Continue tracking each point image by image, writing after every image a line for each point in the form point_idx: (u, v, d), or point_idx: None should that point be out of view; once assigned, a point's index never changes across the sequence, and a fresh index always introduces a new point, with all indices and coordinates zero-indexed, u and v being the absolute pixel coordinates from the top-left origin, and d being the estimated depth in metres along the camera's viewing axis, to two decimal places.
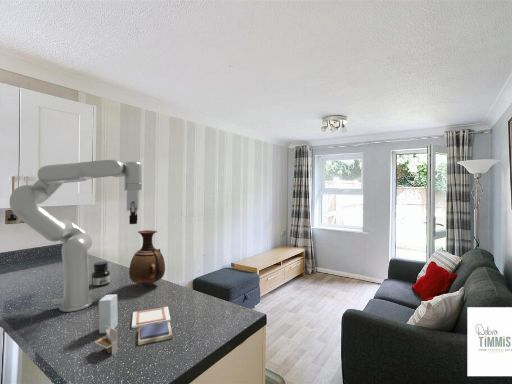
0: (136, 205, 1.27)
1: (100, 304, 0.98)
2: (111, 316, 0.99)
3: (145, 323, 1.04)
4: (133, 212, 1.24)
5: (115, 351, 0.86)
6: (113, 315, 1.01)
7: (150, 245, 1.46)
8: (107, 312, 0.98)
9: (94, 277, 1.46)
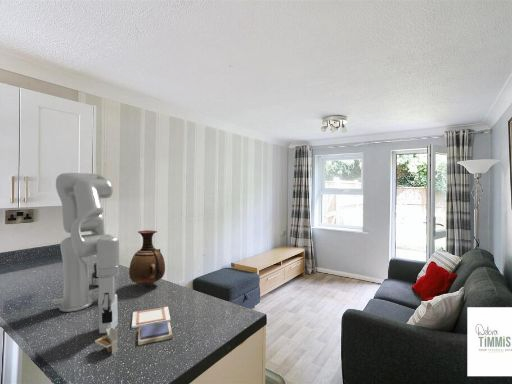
0: (111, 299, 0.97)
1: None
2: None
3: (145, 323, 1.04)
4: (106, 309, 0.96)
5: (115, 350, 0.87)
6: (113, 315, 1.01)
7: (150, 245, 1.46)
8: None
9: (94, 277, 1.46)
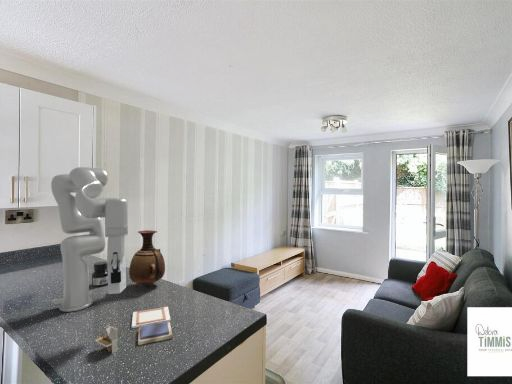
0: (119, 258, 0.96)
1: (109, 264, 0.97)
2: None
3: (145, 323, 1.04)
4: (115, 269, 0.95)
5: (115, 350, 0.87)
6: (122, 276, 1.00)
7: (150, 245, 1.46)
8: None
9: (94, 277, 1.46)
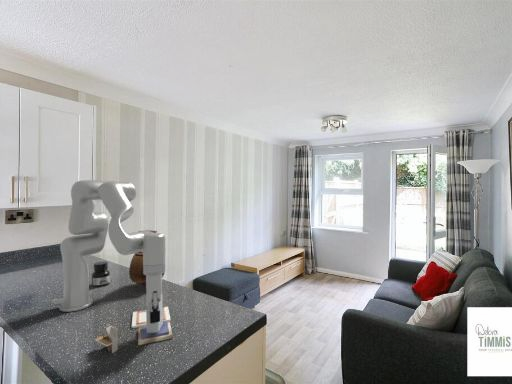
0: (159, 297, 0.93)
1: None
2: None
3: (145, 323, 1.04)
4: (155, 308, 0.92)
5: (115, 349, 0.87)
6: (160, 314, 0.97)
7: None
8: None
9: (94, 277, 1.46)
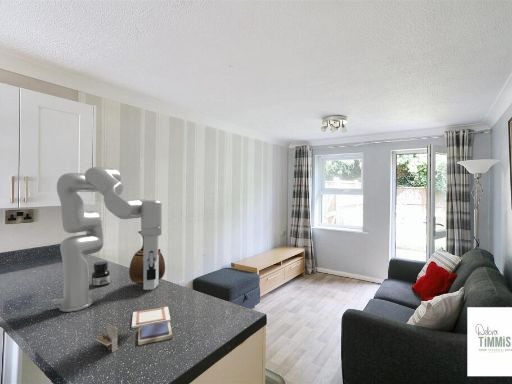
0: (155, 257, 1.03)
1: (145, 262, 1.04)
2: None
3: (145, 323, 1.04)
4: (151, 266, 1.01)
5: (115, 349, 0.88)
6: (156, 273, 1.06)
7: None
8: None
9: (94, 277, 1.46)
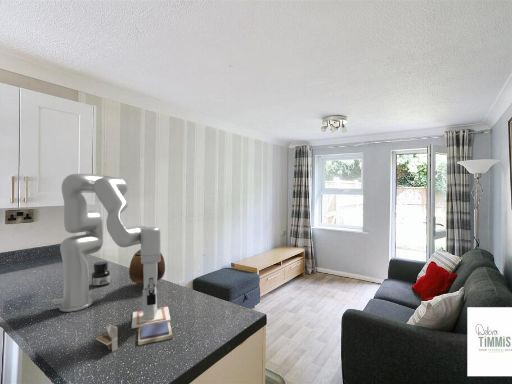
0: (155, 282, 1.06)
1: (144, 293, 1.07)
2: (154, 304, 1.08)
3: (145, 323, 1.04)
4: (151, 292, 1.04)
5: (115, 348, 0.88)
6: None
7: None
8: None
9: (94, 277, 1.46)
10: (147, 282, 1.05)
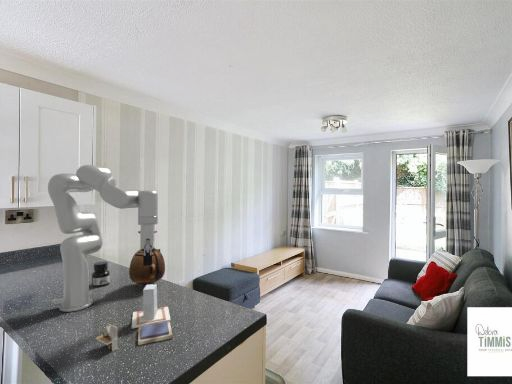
0: (151, 243, 1.07)
1: (144, 293, 1.07)
2: (154, 304, 1.08)
3: (145, 323, 1.04)
4: (148, 252, 1.05)
5: (115, 348, 0.88)
6: (155, 303, 1.10)
7: None
8: (150, 300, 1.07)
9: (94, 277, 1.46)
10: (144, 243, 1.06)
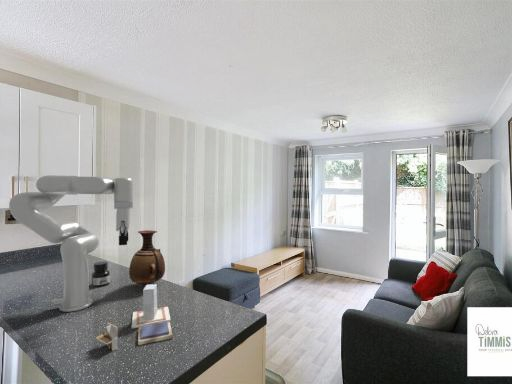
0: (126, 225, 1.18)
1: (144, 293, 1.07)
2: (154, 304, 1.08)
3: (145, 323, 1.04)
4: (123, 233, 1.16)
5: (115, 347, 0.88)
6: (155, 303, 1.10)
7: (150, 245, 1.46)
8: (150, 300, 1.07)
9: (94, 277, 1.46)
10: (119, 224, 1.17)
